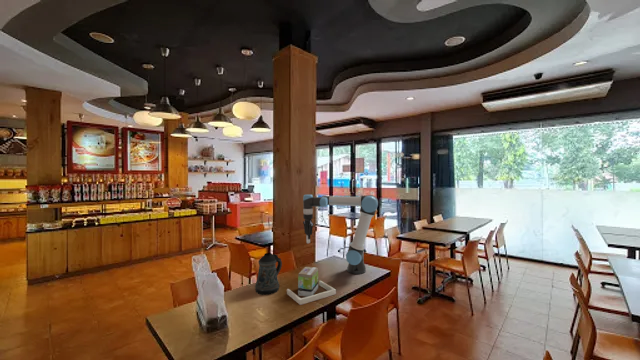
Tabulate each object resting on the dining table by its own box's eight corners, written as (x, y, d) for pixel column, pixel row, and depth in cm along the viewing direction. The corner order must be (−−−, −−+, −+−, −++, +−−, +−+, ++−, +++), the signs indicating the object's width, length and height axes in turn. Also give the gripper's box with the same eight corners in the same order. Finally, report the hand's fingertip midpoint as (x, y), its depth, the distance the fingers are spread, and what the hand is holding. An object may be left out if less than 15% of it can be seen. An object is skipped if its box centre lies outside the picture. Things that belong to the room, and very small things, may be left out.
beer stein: (250, 293, 181) (249, 256, 180) (264, 282, 199) (263, 249, 199) (273, 296, 176) (272, 258, 176) (284, 284, 195) (284, 250, 194)
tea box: (312, 297, 175) (312, 274, 174) (297, 295, 177) (297, 273, 177) (318, 288, 189) (318, 267, 189) (305, 286, 192) (304, 265, 192)
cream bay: (320, 284, 195) (320, 280, 195) (336, 294, 179) (335, 289, 179) (286, 293, 180) (286, 289, 180) (300, 305, 165) (300, 300, 165)
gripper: (300, 213, 221) (300, 241, 221) (308, 215, 210) (308, 245, 210) (308, 212, 225) (308, 240, 225) (316, 214, 214) (316, 243, 214)
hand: (308, 242), depth 218 cm, fingers closed
